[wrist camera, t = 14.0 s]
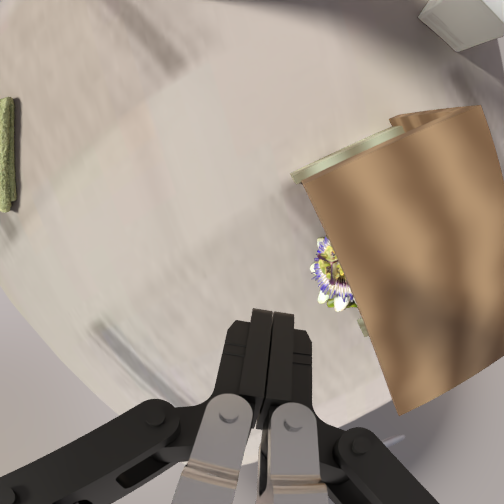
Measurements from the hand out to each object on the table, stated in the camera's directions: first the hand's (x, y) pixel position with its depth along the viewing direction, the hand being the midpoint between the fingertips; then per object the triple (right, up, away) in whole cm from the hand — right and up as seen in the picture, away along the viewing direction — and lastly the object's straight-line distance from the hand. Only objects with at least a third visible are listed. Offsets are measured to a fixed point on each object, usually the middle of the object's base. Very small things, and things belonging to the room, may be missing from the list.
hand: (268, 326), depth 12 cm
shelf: (+16, +5, +27) cm, 32 cm away
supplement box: (+26, +34, +17) cm, 46 cm away
